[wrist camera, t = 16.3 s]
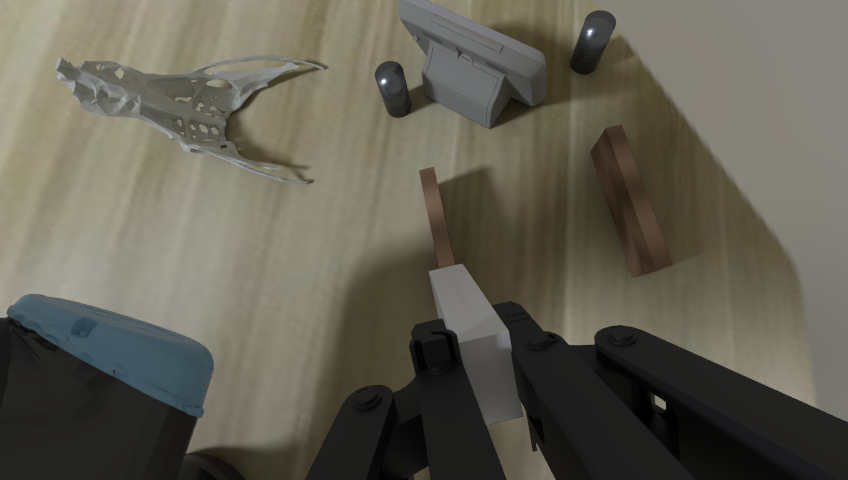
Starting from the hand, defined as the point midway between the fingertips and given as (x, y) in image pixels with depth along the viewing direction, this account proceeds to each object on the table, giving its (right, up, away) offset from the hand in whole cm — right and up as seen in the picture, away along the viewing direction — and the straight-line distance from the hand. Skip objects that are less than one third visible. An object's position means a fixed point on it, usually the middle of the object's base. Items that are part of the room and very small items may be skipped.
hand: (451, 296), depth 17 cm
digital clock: (+5, +21, +30) cm, 36 cm away
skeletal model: (-26, +16, +32) cm, 44 cm away
